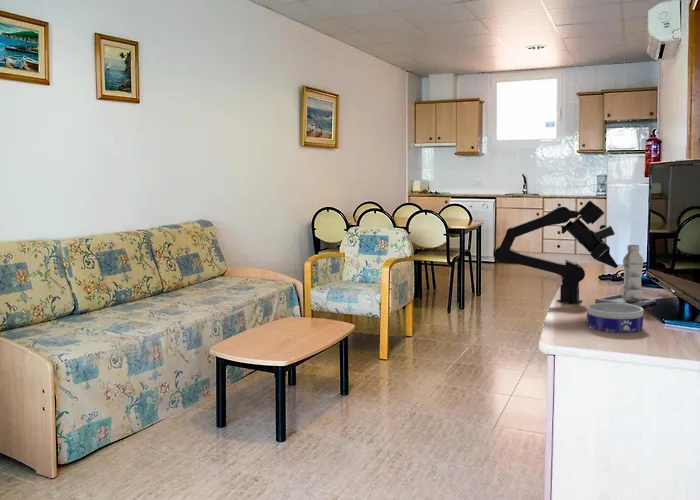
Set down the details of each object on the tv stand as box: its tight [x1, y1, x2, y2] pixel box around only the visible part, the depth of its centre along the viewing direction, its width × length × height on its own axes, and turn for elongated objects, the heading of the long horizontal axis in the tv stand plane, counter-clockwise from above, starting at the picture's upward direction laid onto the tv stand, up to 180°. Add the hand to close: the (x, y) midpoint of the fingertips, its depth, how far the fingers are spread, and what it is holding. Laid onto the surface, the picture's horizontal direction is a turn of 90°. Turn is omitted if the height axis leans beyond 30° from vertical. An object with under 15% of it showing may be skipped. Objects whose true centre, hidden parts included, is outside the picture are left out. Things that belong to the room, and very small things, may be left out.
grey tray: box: [594, 293, 657, 308], centre depth 213 cm, size 14×14×2 cm
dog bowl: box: [586, 303, 644, 334], centre depth 180 cm, size 15×15×6 cm
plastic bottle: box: [621, 244, 644, 303], centre depth 211 cm, size 6×7×20 cm
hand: (615, 265), depth 213 cm, fingers open, 9 cm apart
